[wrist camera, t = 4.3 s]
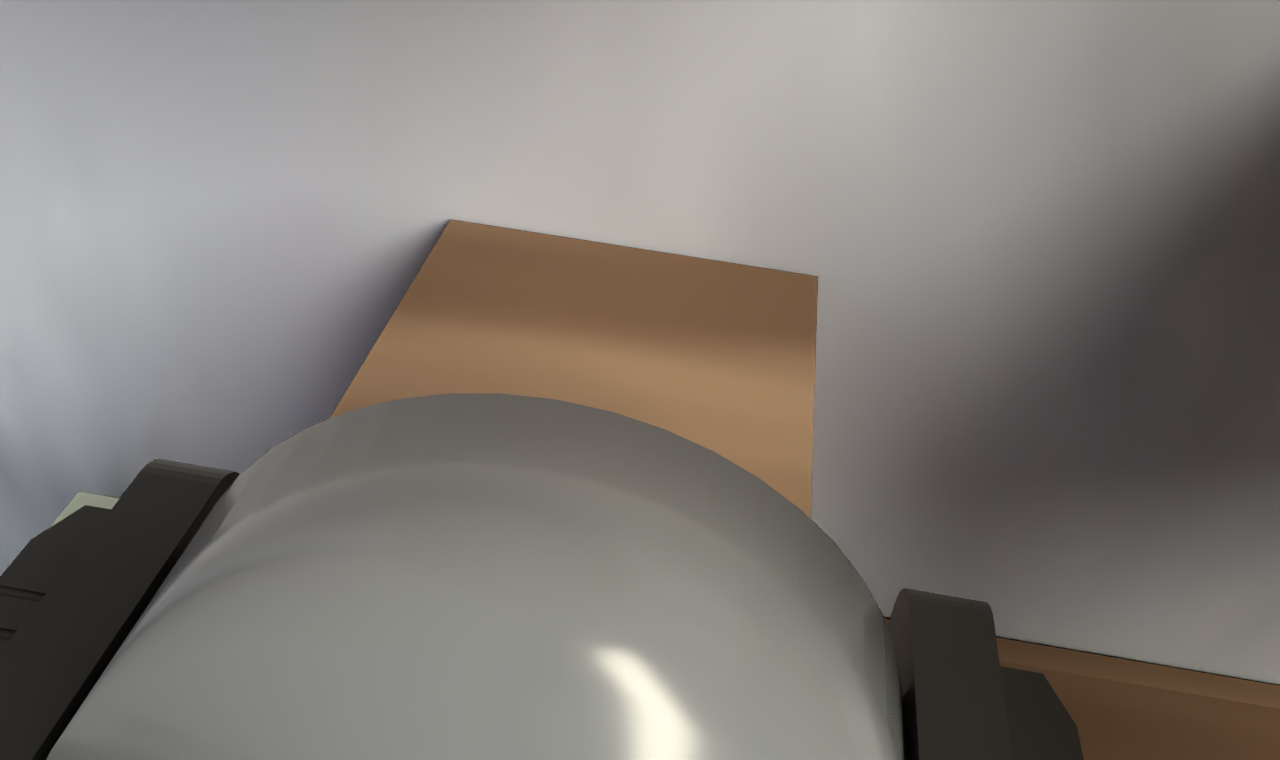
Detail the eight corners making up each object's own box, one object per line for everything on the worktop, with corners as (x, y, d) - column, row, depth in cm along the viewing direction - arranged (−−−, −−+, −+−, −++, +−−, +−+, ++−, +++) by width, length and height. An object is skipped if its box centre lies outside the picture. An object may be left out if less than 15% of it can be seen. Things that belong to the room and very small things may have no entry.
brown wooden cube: (450, 219, 13) (318, 435, 10) (817, 277, 13) (809, 518, 10) (446, 502, 15) (339, 756, 12) (759, 555, 15) (736, 829, 12)
